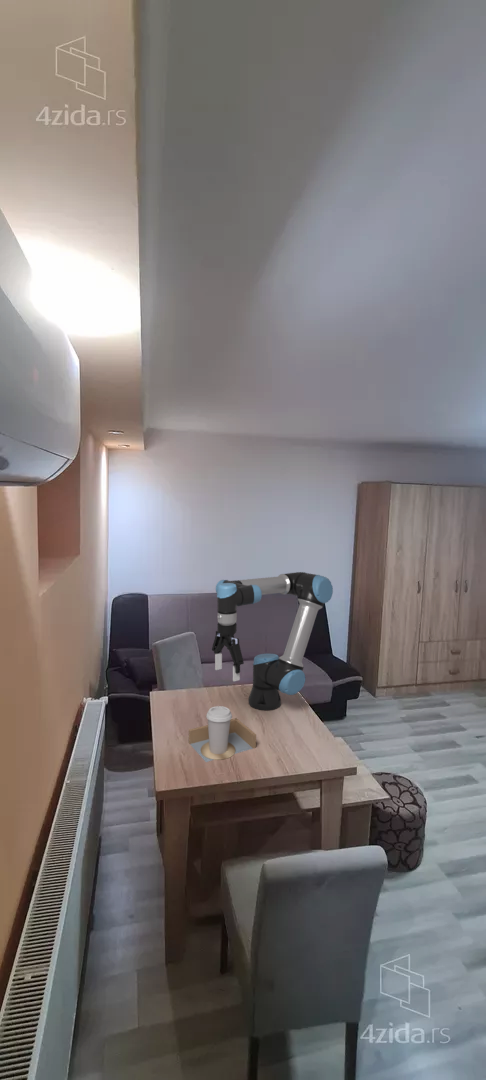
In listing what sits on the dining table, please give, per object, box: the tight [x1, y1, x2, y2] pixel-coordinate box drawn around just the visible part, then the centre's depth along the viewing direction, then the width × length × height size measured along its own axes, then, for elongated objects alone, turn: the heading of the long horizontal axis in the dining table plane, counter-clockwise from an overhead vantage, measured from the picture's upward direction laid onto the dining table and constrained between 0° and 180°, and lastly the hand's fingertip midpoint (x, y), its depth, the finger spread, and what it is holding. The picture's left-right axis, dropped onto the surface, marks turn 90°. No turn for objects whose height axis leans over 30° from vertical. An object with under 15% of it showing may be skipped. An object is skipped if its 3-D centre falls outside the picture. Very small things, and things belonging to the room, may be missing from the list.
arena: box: [188, 717, 257, 763], centre depth 176 cm, size 21×15×6 cm
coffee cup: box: [205, 705, 233, 754], centre depth 172 cm, size 10×10×15 cm
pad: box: [201, 742, 235, 761], centre depth 173 cm, size 13×13×1 cm
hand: (227, 674), depth 184 cm, fingers open, 13 cm apart
